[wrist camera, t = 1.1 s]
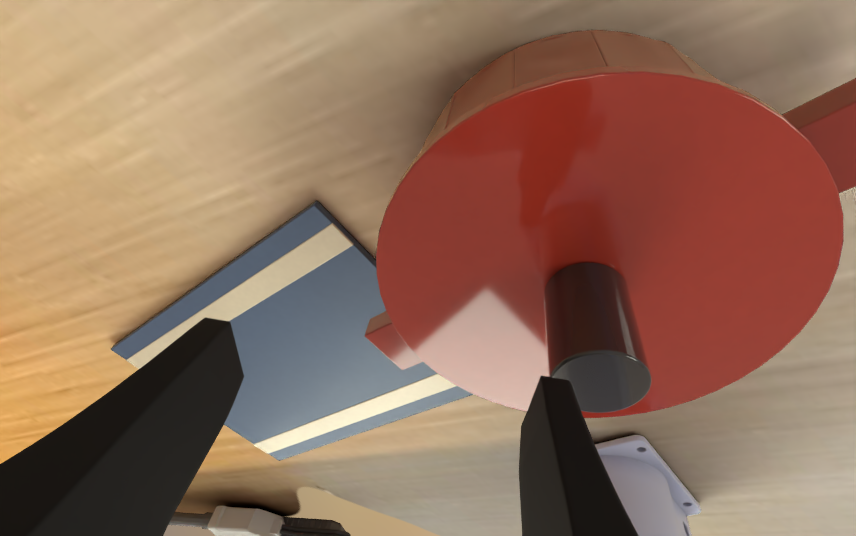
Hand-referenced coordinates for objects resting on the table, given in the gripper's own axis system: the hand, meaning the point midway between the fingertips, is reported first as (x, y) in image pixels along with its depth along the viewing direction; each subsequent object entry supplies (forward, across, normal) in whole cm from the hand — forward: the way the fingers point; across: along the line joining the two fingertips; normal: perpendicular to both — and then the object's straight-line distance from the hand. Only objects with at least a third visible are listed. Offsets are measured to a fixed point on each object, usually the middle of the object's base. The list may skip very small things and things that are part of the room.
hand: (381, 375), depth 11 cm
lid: (+5, -5, 0) cm, 7 cm away
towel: (+10, +7, +14) cm, 19 cm away
